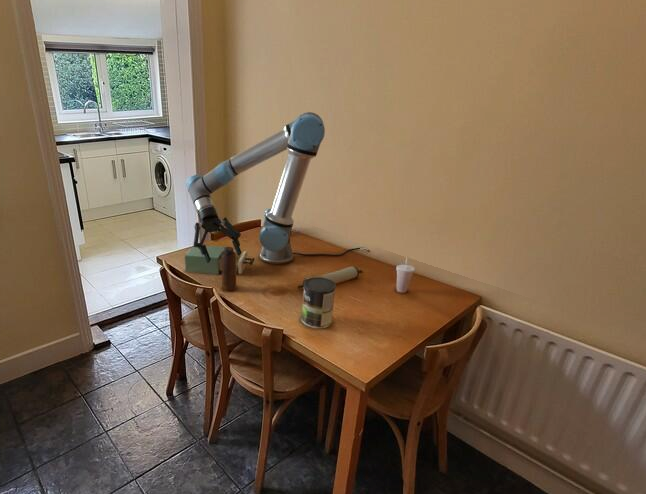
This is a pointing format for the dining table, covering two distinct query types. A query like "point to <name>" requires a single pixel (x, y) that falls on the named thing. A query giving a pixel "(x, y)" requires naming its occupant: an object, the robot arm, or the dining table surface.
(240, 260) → the drawer
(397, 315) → the dining table surface
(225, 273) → the pepper mill
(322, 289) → the coffee can
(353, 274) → the rolling pin
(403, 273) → the smoothie
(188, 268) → the cabinet
